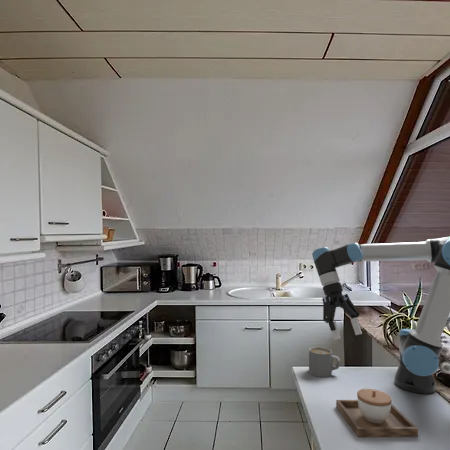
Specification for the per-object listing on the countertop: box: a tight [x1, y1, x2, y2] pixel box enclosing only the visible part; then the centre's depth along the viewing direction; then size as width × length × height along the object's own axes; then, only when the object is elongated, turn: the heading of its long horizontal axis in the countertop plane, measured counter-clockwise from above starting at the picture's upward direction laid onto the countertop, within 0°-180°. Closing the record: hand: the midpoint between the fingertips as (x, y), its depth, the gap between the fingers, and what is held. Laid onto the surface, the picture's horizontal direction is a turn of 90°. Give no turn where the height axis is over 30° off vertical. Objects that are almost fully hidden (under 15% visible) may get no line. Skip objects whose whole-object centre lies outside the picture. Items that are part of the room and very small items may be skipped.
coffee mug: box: [308, 346, 341, 378], centre depth 160 cm, size 13×10×10 cm
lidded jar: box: [356, 388, 393, 423], centre depth 120 cm, size 11×11×9 cm
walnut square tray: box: [335, 399, 419, 438], centre depth 120 cm, size 19×19×2 cm
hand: (348, 336), depth 139 cm, fingers open, 13 cm apart
